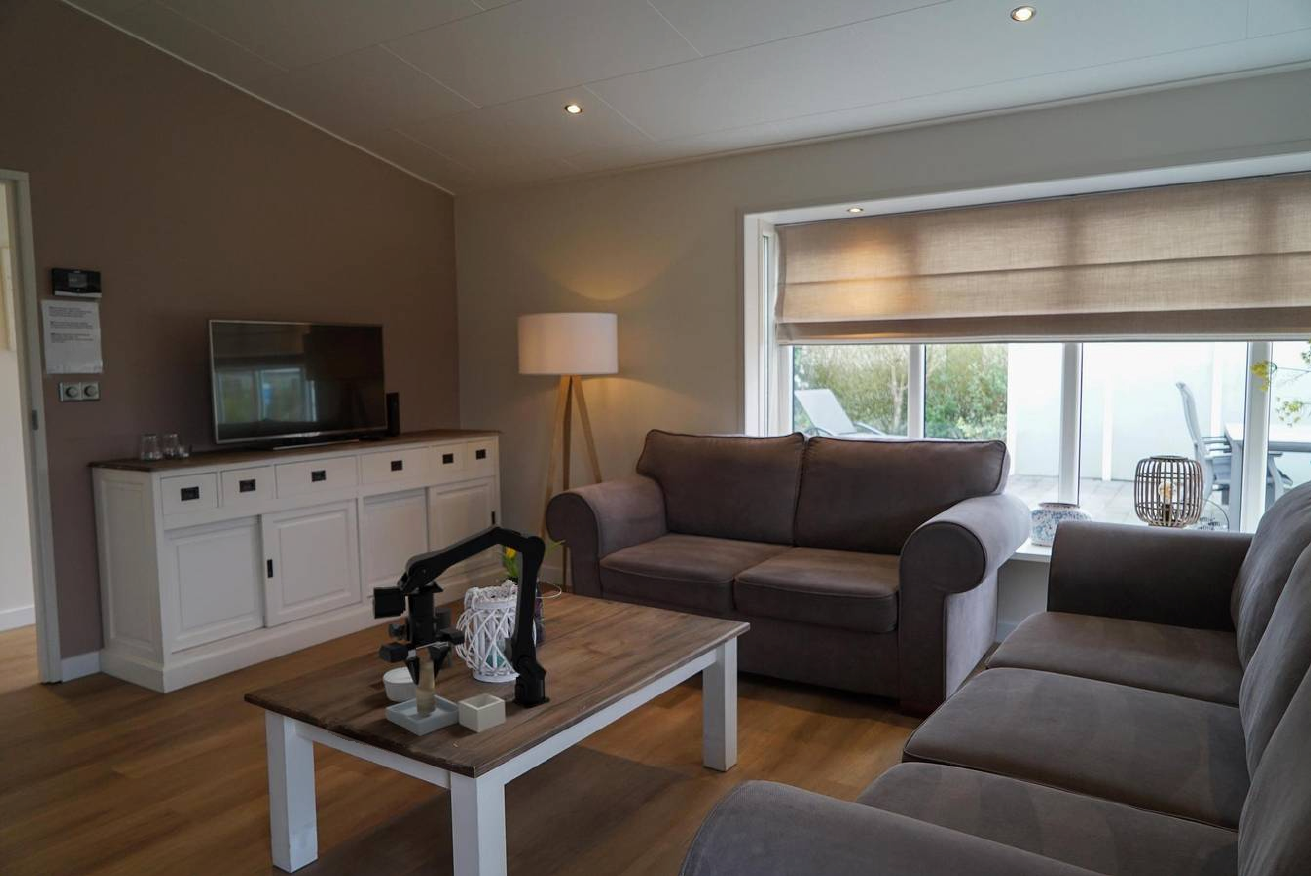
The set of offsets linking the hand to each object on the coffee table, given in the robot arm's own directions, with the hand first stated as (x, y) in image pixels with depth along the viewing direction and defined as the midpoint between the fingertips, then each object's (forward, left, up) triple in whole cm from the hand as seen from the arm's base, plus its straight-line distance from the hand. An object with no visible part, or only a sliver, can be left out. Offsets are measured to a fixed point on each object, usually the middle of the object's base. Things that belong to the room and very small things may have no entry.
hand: (424, 681), depth 200 cm
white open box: (-7, +11, -8) cm, 16 cm away
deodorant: (-22, -29, -9) cm, 37 cm away
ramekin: (-5, -17, -9) cm, 19 cm away
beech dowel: (0, 0, -6) cm, 7 cm away
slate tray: (0, 0, -8) cm, 8 cm away
